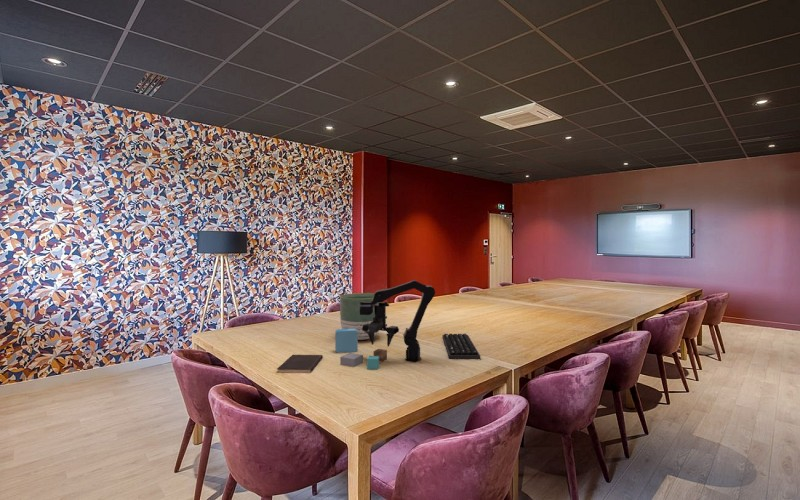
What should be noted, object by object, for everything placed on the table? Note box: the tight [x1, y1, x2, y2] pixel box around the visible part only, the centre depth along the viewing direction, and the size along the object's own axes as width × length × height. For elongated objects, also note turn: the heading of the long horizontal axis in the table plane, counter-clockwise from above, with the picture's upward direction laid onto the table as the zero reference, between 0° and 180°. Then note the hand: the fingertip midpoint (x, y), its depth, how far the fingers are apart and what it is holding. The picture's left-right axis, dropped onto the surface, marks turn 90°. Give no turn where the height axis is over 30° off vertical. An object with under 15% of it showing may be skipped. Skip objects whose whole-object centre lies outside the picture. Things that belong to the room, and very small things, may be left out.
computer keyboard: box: [441, 333, 481, 360], centre depth 220 cm, size 45×16×4 cm, turn 178°
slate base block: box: [339, 352, 364, 368], centre depth 192 cm, size 8×8×4 cm
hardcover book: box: [276, 354, 324, 374], centre depth 190 cm, size 16×23×2 cm
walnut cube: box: [373, 348, 388, 363], centre depth 197 cm, size 5×5×5 cm
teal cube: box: [366, 355, 380, 370], centre depth 185 cm, size 5×5×5 cm
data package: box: [334, 328, 359, 354], centre depth 214 cm, size 12×4×12 cm, turn 100°
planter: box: [339, 292, 384, 341], centre depth 242 cm, size 27×27×27 cm
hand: (380, 345), depth 197 cm, fingers open, 9 cm apart
